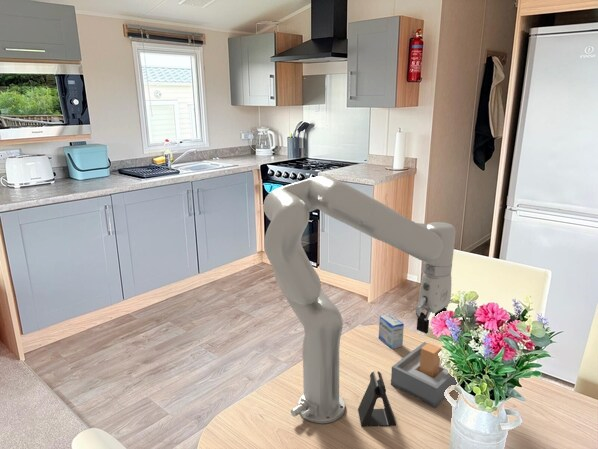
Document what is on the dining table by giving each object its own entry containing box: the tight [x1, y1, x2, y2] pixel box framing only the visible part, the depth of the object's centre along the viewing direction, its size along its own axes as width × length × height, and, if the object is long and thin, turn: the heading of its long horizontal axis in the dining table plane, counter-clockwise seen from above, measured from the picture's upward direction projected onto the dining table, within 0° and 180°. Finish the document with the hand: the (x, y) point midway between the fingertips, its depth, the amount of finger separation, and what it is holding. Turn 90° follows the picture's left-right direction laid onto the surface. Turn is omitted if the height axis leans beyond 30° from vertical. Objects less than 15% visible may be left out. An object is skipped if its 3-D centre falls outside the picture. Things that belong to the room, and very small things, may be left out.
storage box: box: [390, 341, 457, 408], centre depth 126 cm, size 18×14×6 cm
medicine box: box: [378, 313, 405, 350], centre depth 146 cm, size 8×4×9 cm, turn 25°
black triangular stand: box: [357, 371, 397, 428], centre depth 111 cm, size 9×6×12 cm, turn 90°
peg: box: [420, 342, 442, 378], centre depth 125 cm, size 4×4×10 cm
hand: (431, 325), depth 121 cm, fingers open, 9 cm apart
